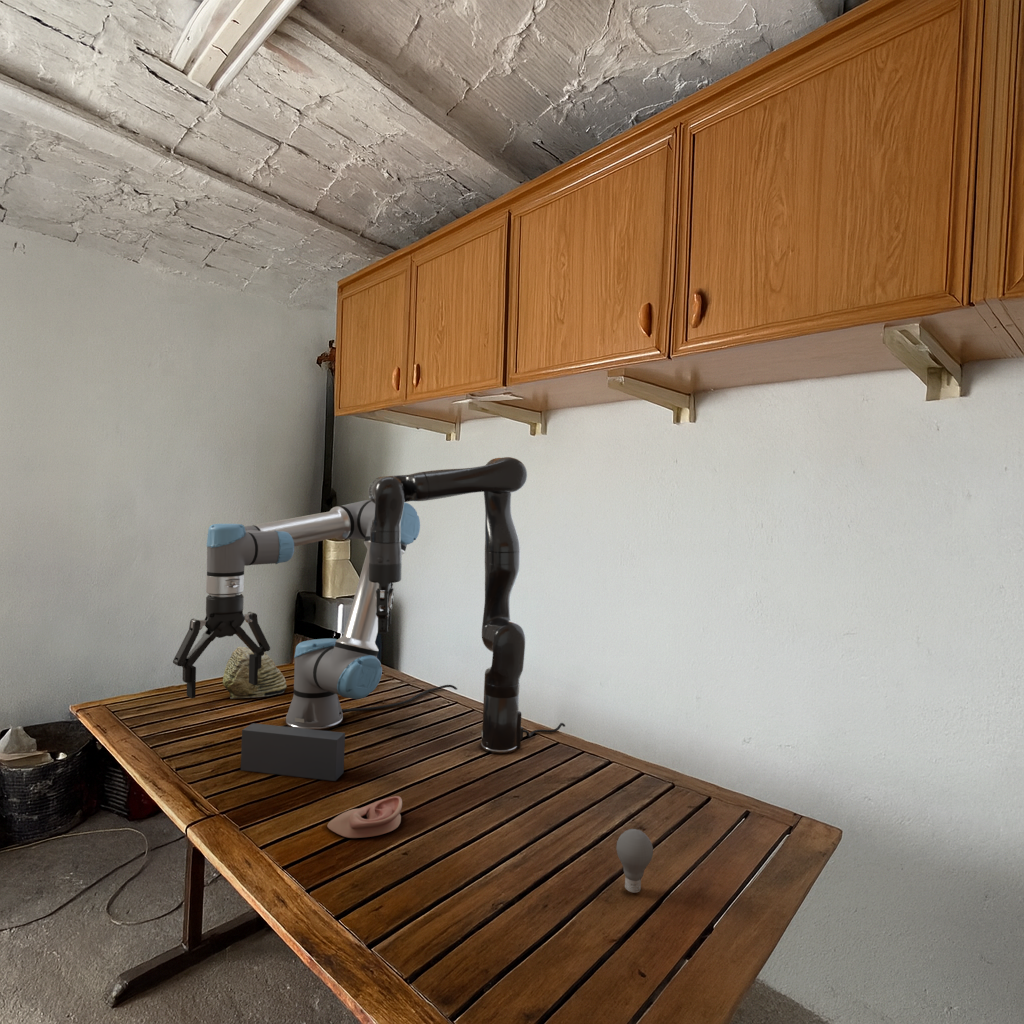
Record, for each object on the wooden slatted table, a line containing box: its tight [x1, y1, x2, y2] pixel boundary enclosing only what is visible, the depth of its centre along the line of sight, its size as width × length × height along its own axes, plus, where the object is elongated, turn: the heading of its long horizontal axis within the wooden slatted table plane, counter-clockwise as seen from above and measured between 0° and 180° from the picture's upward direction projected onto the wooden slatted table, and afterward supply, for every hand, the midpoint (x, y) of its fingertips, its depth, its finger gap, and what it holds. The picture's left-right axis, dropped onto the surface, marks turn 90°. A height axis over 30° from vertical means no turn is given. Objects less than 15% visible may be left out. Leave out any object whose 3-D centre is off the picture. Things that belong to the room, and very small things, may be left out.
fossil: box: [222, 646, 288, 699], centre depth 198 cm, size 9×18×15 cm, turn 132°
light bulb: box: [615, 828, 654, 894], centre depth 106 cm, size 6×6×10 cm
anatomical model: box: [327, 795, 403, 839], centre depth 123 cm, size 13×4×12 cm
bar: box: [240, 722, 346, 782], centre depth 145 cm, size 23×4×9 cm, turn 81°
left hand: (223, 690), depth 140 cm, fingers open, 13 cm apart
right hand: (384, 629), depth 150 cm, fingers open, 8 cm apart
